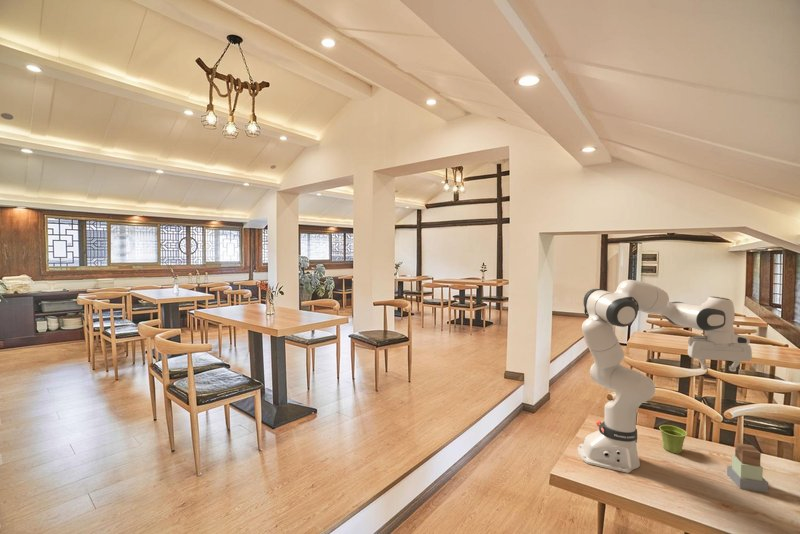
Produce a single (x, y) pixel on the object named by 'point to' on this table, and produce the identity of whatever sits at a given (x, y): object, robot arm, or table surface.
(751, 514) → the table surface
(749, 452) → the walnut cube
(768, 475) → the table surface
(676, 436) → the plant pot
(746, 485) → the base slab
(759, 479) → the tower cube
